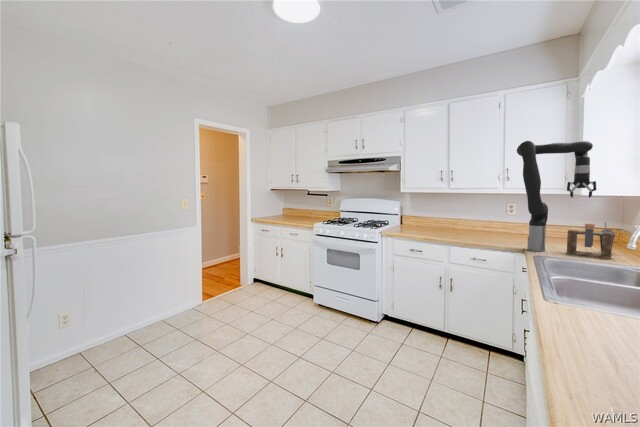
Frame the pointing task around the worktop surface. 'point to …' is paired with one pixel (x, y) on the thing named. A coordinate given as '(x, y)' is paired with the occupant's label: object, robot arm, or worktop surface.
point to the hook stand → (604, 255)
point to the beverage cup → (607, 232)
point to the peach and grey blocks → (589, 234)
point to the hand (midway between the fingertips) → (580, 197)
